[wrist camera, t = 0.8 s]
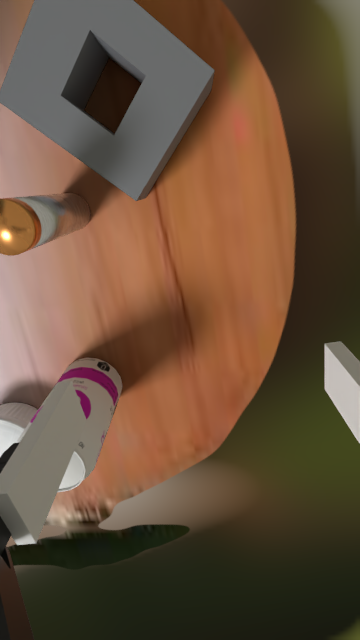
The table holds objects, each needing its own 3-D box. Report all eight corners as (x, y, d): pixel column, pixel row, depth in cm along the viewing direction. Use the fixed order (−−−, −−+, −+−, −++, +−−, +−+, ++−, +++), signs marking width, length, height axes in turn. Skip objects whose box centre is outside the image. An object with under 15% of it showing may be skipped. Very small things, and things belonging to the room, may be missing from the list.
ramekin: (-22, 393, 47) (-46, 417, 42) (53, 396, 47) (37, 421, 42) (-5, 451, 52) (-26, 478, 47) (63, 454, 51) (49, 482, 46)
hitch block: (30, 114, 33) (-4, 100, 27) (85, -17, 29) (58, -64, 23) (145, 198, 35) (136, 201, 30) (211, 90, 31) (214, 70, 26)
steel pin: (49, 216, 37) (-30, 234, 24) (65, 185, 35) (-11, 186, 22) (80, 236, 37) (19, 265, 25) (96, 207, 36) (41, 221, 23)
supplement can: (63, 352, 44) (3, 430, 30) (124, 358, 44) (90, 439, 30) (67, 400, 47) (13, 491, 33) (123, 406, 47) (92, 499, 33)
